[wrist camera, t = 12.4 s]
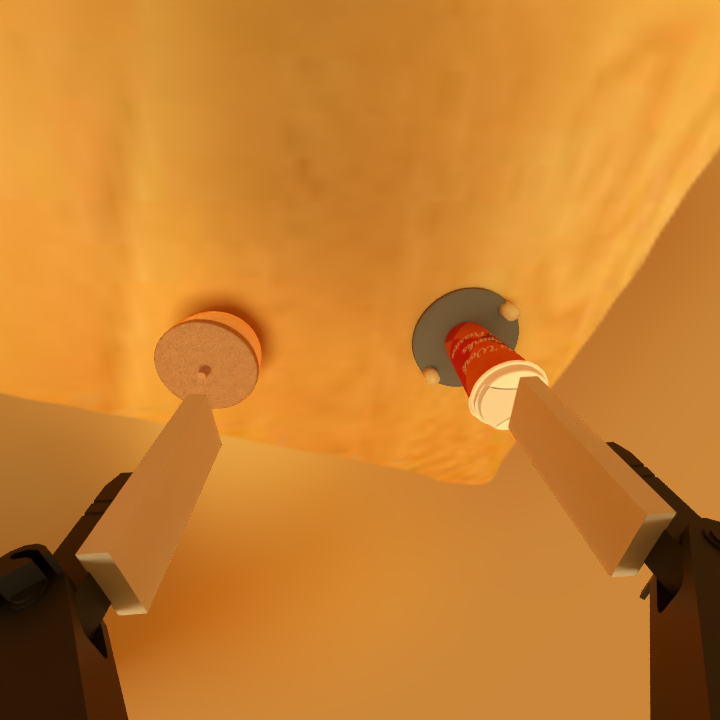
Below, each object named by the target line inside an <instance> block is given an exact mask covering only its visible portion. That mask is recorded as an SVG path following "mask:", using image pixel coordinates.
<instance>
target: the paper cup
mask: <svg viewBox="0 0 720 720" xmlns="http://www.w3.org/2000/svg"><path fill="white" fill-rule="evenodd" d="M445 349H446V352H447V354H448V356H449V358H450V361H451V363H452V365H453V367H454V369H455V371H456V373H457V375H458V377H459V379H460V381H461V383H462V385H463V387H464V389H465V391H466V393H467V395H468V397H469V400H468V402H469V408H470V411H471V413H472V414H473V415H474V416H475V417H477V418H478V419H479V420H480V421H482V422H484V423H486V424H489V425H491V426H492V427H494V428H496V429H501V430H509V428H508V425H509V421H510V417H511V413H512V409H513V404H514V400H515V396H516V392H517V388H518V383H519V379H520V377H528V376H538V377H539V378H540V379H541V380H542V381H543V382H544V383H545V384H546V385H547V386H548V379H547V376H546V374H545V373H544V371H543V370H542V369H541V368H540V367H539V366H538V365H536V364H534V363H532V362H529V361H526V360H525V359H524V358H522V357H521V356H520V355H518V354H517V353H516V352H515V351H513V350H512V349H511V348H510V347H508V346H507V345H506V344H505V343H503V342H502V341H501V340H499V339H498V338H497V337H496V336H494V335H493V334H492V333H490V332H489V331H488V330H487V329H485V328H484V327H482V326H481V325H479V324H477V323H474V322H463V323H460V324H458V325H456V326H455V327H453V328H452V329H451V330H450V331H449V333H448V334H447V336H446V339H445Z"/></svg>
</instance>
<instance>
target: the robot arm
mask: <svg viewBox="0 0 720 720" xmlns="http://www.w3.org/2000/svg"><path fill="white" fill-rule="evenodd" d="M508 428H509V430H510V431H511V433H512V434H513V436H514V437H515V439H516V440H517V442H518V443H519V444H520V446H521V447H522V448H523V450H524V452H525V453H526V455H527V456H528V458H529V459H530V460H531V462H532V463H533V465H534V466H535V468H536V469H537V471H538V472H539V474H540V475H541V476H542V478H543V479H544V481H545V482H546V484H547V485H548V487H549V488H550V490H551V491H552V492H553V494H554V496H555V497H556V498H557V500H558V501H559V503H560V504H561V506H562V507H563V509H564V510H565V512H566V513H567V514H568V516H569V517H570V519H571V520H572V522H573V523H574V525H575V526H576V528H577V529H578V531H579V532H580V533H581V534H582V536H583V538H584V539H585V541H586V542H587V544H588V545H589V547H590V548H591V549H592V551H593V552H594V554H595V555H596V556H597V558H598V559H599V561H600V563H601V564H602V565H603V567H604V568H605V570H606V571H607V573H608V574H609V576H610V577H621V576H633V575H636V574H637V573H638V571H639V570H640V568H641V567H642V565H643V564H644V563H645V564H646V565H647V566H648V568H649V569H650V570H651V571H652V572H653V576H652V577H651V579H650V580H649V582H648V583H647V584H646V586H645V588H644V589H643V590H642V592H641V595H640V598H642V599H644V600H645V598H646V597H647V596H648V594H649V593H650V707H651V708H650V711H651V714H650V716H651V717H650V718H651V719H650V720H720V522H718V521H715V520H711V519H708V518H701V517H700V516H699V515H697V514H696V513H695V512H694V511H693V510H692V509H691V508H690V507H689V506H688V505H687V504H686V503H685V502H683V501H682V500H681V499H680V498H679V497H678V496H677V495H676V494H675V493H674V492H673V491H672V490H671V489H669V488H668V487H667V486H666V485H665V484H664V483H663V482H662V481H661V480H660V479H659V478H657V477H655V476H654V474H653V473H652V472H651V471H650V470H649V469H648V468H647V467H644V465H643V463H641V462H640V461H639V460H638V459H637V458H636V457H635V456H634V455H633V454H632V453H631V452H629V451H628V450H626V449H624V448H623V447H621V446H619V445H618V444H616V443H614V442H607V443H606V442H604V441H603V440H602V439H601V438H600V437H599V436H598V435H597V434H596V433H595V432H594V431H593V430H592V429H591V428H590V427H589V426H588V425H587V424H586V423H585V422H584V421H583V420H582V419H581V418H580V417H579V416H578V415H577V414H576V413H575V412H574V411H573V410H572V409H571V408H570V407H569V406H568V405H567V404H566V403H565V402H564V401H563V400H562V399H560V398H559V397H558V396H557V395H556V394H555V393H554V392H553V391H552V390H551V389H550V388H549V387H548V386H547V385H546V384H545V383H544V382H543V381H542V380H541V379H540V378H539V377H538V376H528V377H520V379H519V383H518V388H517V392H516V396H515V400H514V404H513V409H512V413H511V417H510V421H509V425H508ZM221 445H222V444H221V440H220V437H219V434H218V430H217V427H216V423H215V420H214V417H213V413H212V410H211V406H210V403H209V400H208V396H207V394H189V395H187V396H186V398H185V399H184V401H183V402H182V403H181V405H180V406H179V408H178V409H177V410H176V412H175V413H174V415H173V416H172V418H171V419H170V420H169V422H168V423H167V425H166V426H165V428H164V429H163V431H162V432H161V433H160V435H159V436H158V438H157V439H156V440H155V442H154V443H153V445H152V446H151V447H150V449H149V450H148V452H147V453H146V455H145V456H144V457H143V459H142V460H141V462H140V463H139V465H138V466H137V467H136V469H135V470H134V472H131V473H121V474H119V475H118V476H117V477H116V478H115V479H113V480H112V481H111V482H110V483H108V484H107V485H106V486H105V487H104V488H103V490H102V491H101V492H100V494H99V495H98V496H97V497H96V499H95V500H94V503H93V504H91V505H90V507H89V508H88V509H87V511H86V512H85V515H84V516H82V517H81V518H80V520H79V521H78V522H77V524H76V525H75V526H74V528H73V529H72V530H71V532H70V533H69V534H68V536H67V537H66V538H65V539H64V541H63V542H62V544H61V545H60V546H59V548H58V549H57V550H56V551H55V553H54V554H53V555H52V554H51V553H50V551H49V550H48V549H47V547H46V546H44V545H40V544H32V545H26V546H23V547H20V548H18V549H15V550H13V551H10V552H9V553H7V554H6V555H4V556H2V557H1V558H0V720H128V716H127V712H126V708H125V704H124V700H123V695H122V691H121V687H120V682H119V678H118V674H117V669H116V665H115V661H114V657H113V652H112V648H111V643H110V639H109V635H108V630H107V626H106V624H105V623H104V621H103V617H104V616H105V613H106V612H107V610H108V608H109V606H110V604H111V605H112V607H113V608H114V609H115V611H116V612H117V613H118V615H129V614H141V613H148V610H149V608H150V606H151V604H152V601H153V599H154V597H155V595H156V592H157V590H158V588H159V586H160V583H161V581H162V579H163V576H164V574H165V572H166V570H167V567H168V565H169V563H170V560H171V558H172V556H173V554H174V551H175V549H176V547H177V544H178V542H179V540H180V538H181V536H182V533H183V531H184V529H185V527H186V524H187V522H188V520H189V517H190V515H191V513H192V511H193V508H194V506H195V504H196V502H197V499H198V497H199V495H200V492H201V490H202V488H203V486H204V483H205V481H206V479H207V477H208V474H209V472H210V470H211V467H212V465H213V463H214V461H215V458H216V456H217V454H218V452H219V449H220V447H221Z"/></svg>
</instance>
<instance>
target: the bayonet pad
mask: <svg viewBox="0 0 720 720" xmlns="http://www.w3.org/2000/svg"><path fill="white" fill-rule="evenodd" d="M519 315H520V310H519V308H517V307H516V306H514V305H513V304H512V303H510V302H509V301H507V300H505V299H503V298H502V297H501V296H499V295H498V294H496V293H494V292H492V291H489V290H486V289H481V288H464V289H460V290H456V291H453V292H450V293H448V294H446V295H444V296H442V297H441V298H439V299H437V300H436V301H435V302H434V303H432V304H431V305H430V306H429V307H428V308H427V309H426V310H425V312H424V313H423V314H422V316H421V317H420V319H419V321H418V322H417V325H416V327H415V330H414V333H413V339H412V349H413V354H414V357H415V360H416V362H417V364H418V366H419V368H420V369H421V371H422V372H423V375H424V377H425V379H426V381H427V383H428V384H429V385H436V384H438V383H439V384H442V385H446V386H455V387H460V386H463V385H462V383H461V381H460V379H459V377H458V375H457V373H456V371H455V369H454V367H453V365H452V363H451V361H450V358H449V356H448V354H447V352H446V349H445V339H446V336H447V334H448V333H449V331H450V330H451V329H452V328H453V327H455V326H456V325H458V324H460V323H463V322H474V323H477V324H479V325H481V326H482V327H484V328H485V329H487V330H488V331H489V332H490V333H492V334H493V335H494V336H496V337H497V338H498V339H499V340H501V341H502V342H503V343H505V344H506V345H507V346H508V347H510V348H511V349H512V350H513V351H514V349H515V347H516V344H517V340H518V335H519V325H518V319H517V318H518V317H519Z"/></svg>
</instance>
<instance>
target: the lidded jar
mask: <svg viewBox="0 0 720 720" xmlns="http://www.w3.org/2000/svg"><path fill="white" fill-rule="evenodd" d="M154 361H155V367H156V370H157V373H158V375H159V377H160V379H161V381H162V382H163V383H164V385H165V386H166V387H167V388H168V389H169V390H170V391H171V392H172V393H173V394H174V395H176V396H177V397H178V398H180V399H182V400H183V401H184V399H185V398H186V396H187V395H189V394H207V396H208V400H209V403H210V406H211V409H217V408H226V407H230V406H233V405H236V404H238V403H240V402H241V401H243V400H244V399H246V398H247V397H248V396H249V395H250V393H251V392H252V390H253V389H254V387H255V385H256V382H257V379H258V375H259V372H260V368H261V362H262V350H261V345H260V342H259V339H258V337H257V335H256V333H255V332H254V331H253V329H252V328H251V327H250V326H249V325H248V324H247V323H246V322H245V321H243V320H242V319H240V318H239V317H237V316H234V315H232V314H229V313H225V312H219V311H207V312H202V313H198V314H195V315H192V316H190V317H188V318H186V319H185V320H183V321H181V322H180V323H178V324H177V325H175V326H173V327H172V328H171V329H169V330H168V331H167V332H166V333H165V334H164V335H163V336H162V337H161V338H160V340H159V342H158V344H157V346H156V349H155V355H154Z"/></svg>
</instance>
